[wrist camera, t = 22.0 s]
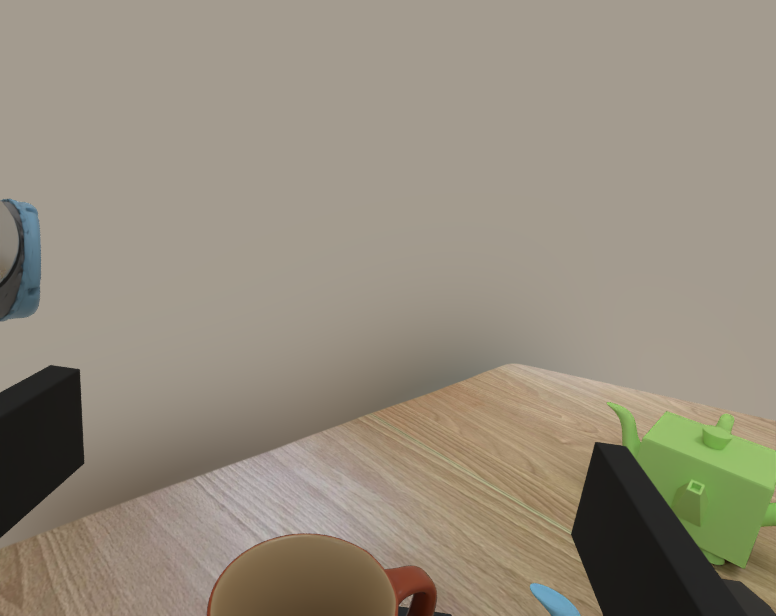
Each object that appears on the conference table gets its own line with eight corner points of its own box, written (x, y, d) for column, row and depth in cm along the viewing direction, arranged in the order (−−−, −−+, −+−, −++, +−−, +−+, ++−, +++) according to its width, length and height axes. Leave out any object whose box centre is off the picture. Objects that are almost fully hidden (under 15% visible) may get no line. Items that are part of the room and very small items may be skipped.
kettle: (585, 479, 59) (608, 390, 56) (697, 485, 61) (726, 399, 58) (665, 584, 45) (703, 471, 42) (809, 587, 47) (855, 479, 44)
